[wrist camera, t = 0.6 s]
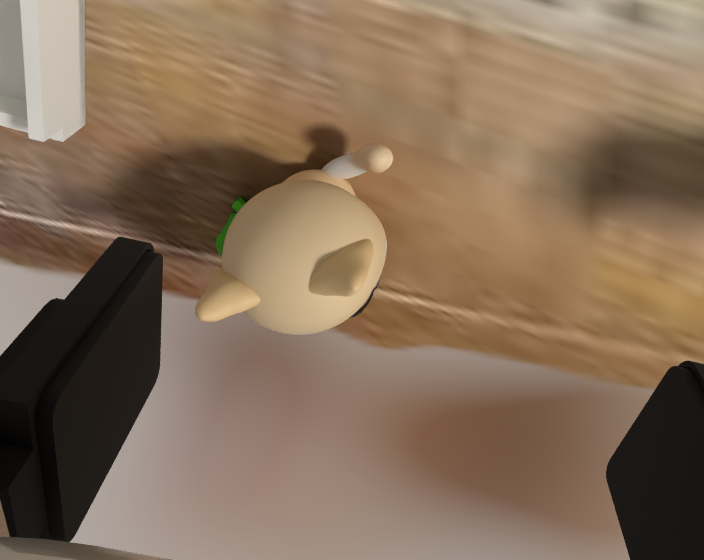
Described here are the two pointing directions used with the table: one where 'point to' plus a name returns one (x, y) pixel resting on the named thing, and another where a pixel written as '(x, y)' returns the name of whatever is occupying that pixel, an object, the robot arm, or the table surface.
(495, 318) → the table surface
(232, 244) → the cream toy figurine
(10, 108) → the white square bin
